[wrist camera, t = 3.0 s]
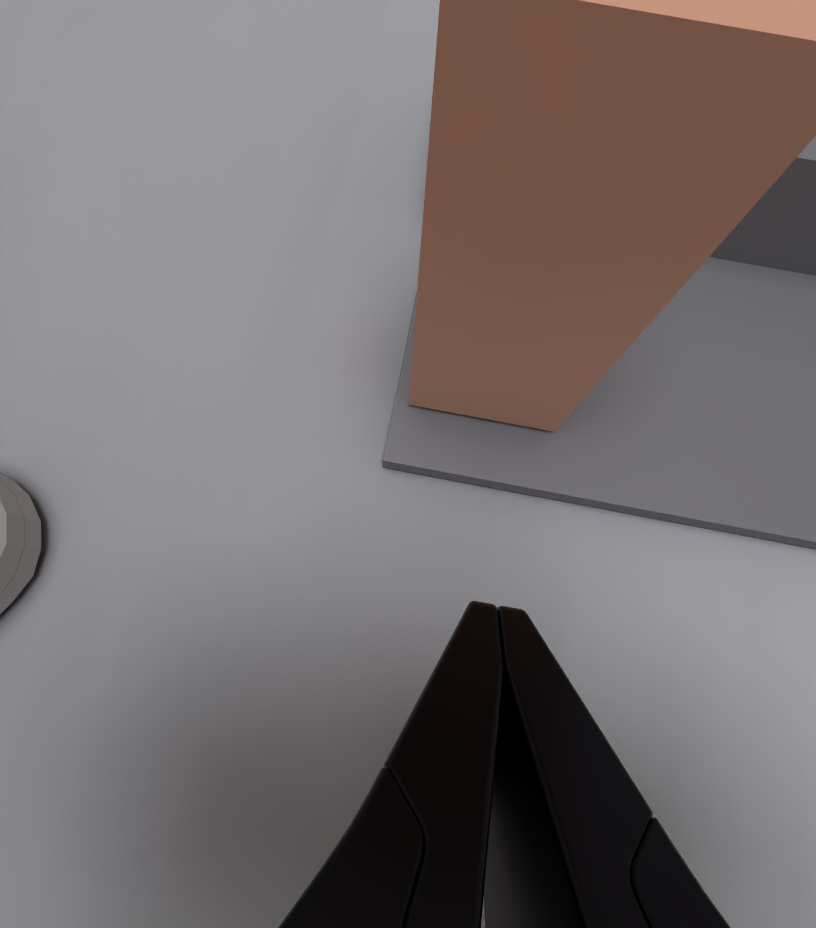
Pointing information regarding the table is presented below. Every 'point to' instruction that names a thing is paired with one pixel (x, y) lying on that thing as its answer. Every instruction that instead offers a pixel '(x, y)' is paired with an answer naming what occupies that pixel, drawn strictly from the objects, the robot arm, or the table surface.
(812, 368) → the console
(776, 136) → the key
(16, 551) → the electronic device
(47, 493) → the table surface
